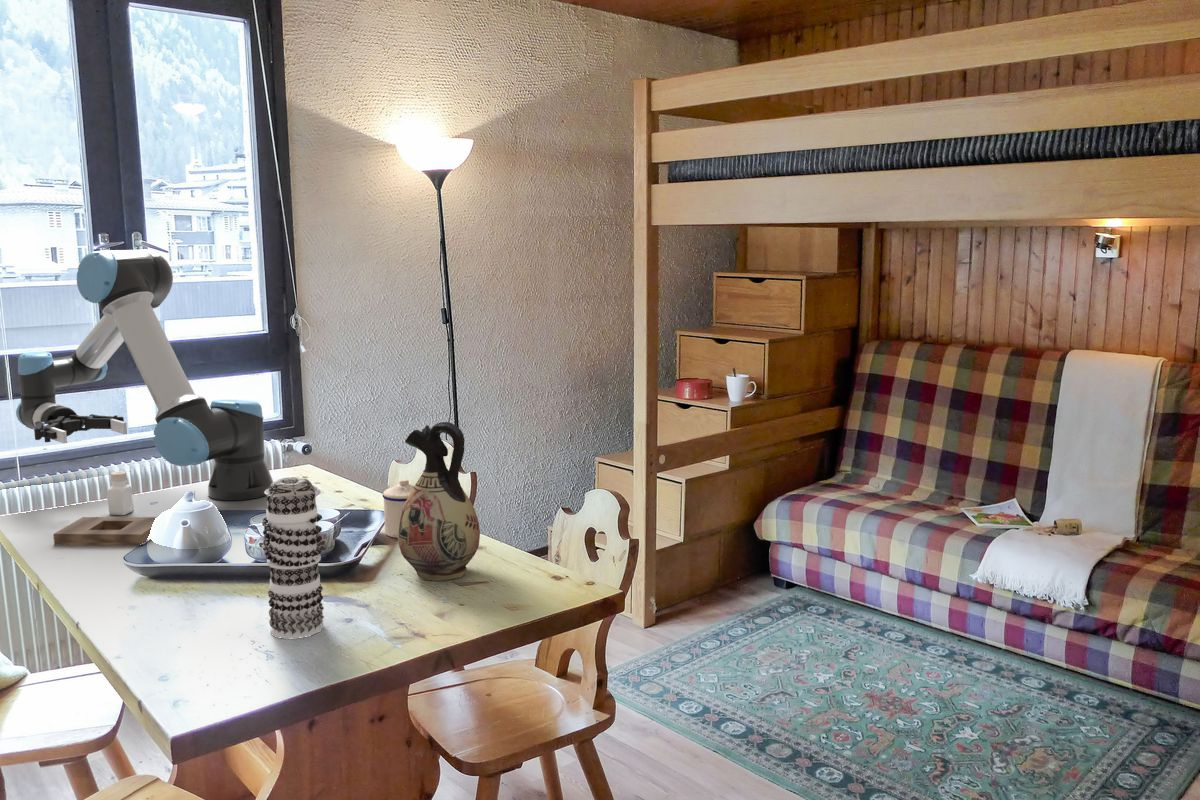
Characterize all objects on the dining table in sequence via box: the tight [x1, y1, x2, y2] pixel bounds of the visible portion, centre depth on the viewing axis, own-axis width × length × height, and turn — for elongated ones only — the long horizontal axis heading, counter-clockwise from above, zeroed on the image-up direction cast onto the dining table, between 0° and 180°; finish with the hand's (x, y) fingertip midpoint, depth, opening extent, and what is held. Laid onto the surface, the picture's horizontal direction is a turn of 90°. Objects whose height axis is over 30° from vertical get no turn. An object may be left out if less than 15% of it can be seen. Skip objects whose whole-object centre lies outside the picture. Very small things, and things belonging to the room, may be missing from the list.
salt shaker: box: [106, 470, 134, 516], centre depth 225 cm, size 4×4×10 cm
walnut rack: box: [52, 516, 156, 547], centre depth 209 cm, size 18×12×2 cm, turn 90°
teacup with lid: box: [382, 478, 415, 539], centre depth 213 cm, size 12×9×12 cm
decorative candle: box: [261, 476, 325, 638], centre depth 160 cm, size 9×9×25 cm
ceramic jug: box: [397, 421, 481, 582], centre depth 185 cm, size 17×15×30 cm
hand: (95, 432), depth 229 cm, fingers open, 13 cm apart
